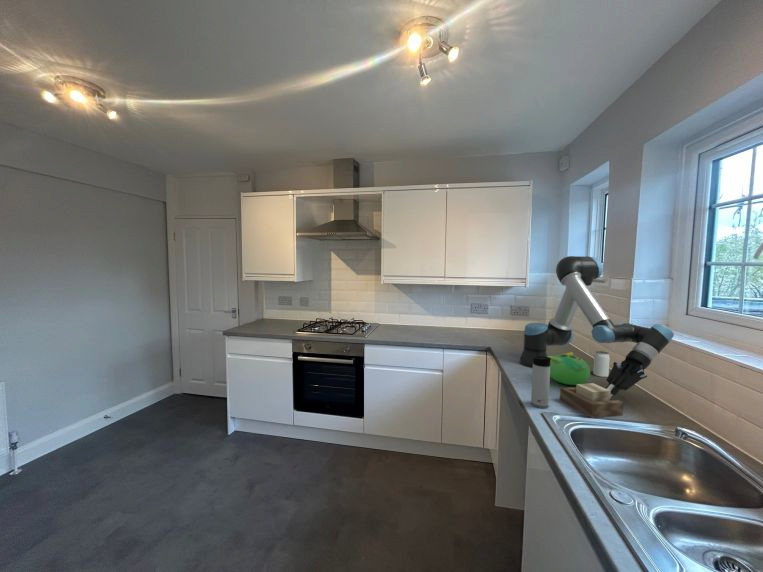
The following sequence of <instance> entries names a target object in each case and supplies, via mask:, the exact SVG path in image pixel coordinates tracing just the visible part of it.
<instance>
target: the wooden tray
mask: <svg viewBox="0 0 763 572" xmlns="http://www.w3.org/2000/svg"><path fill="white" fill-rule="evenodd" d="M559 400H560V401H561V402H563V403H565V404H567V405H568V406H570V407H572V408H573V409H575V410H577V411H579V412H580V413H583V414H585V415H586V416H587V417H590V418H591V419H593V418H594V419H596V418H608V417H618V416H623V414H624V402H623V401H621V400H619V399H616V400H610V401H601V402H591V401H590V400H588V399H586V398H584V397H582V396H580V395H578V394H576V386H572V387H571V386H570V387H560V390H559Z"/></svg>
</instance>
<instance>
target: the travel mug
mask: <svg viewBox="0 0 763 572" xmlns="http://www.w3.org/2000/svg"><path fill="white" fill-rule="evenodd" d="M550 360H551V358H549V357H543V356H537V357H533V367H532V373H531V374H532V377H531V393H530V394H531V396H530V404H531V405H532V406H533V407H534V408H539V409H547V408H549V400H550V383H551V382H550V380H551V376H550Z"/></svg>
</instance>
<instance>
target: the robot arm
mask: <svg viewBox="0 0 763 572" xmlns="http://www.w3.org/2000/svg"><path fill="white" fill-rule="evenodd" d="M603 269H604V267H603V265H602V262H601V261H600V260H599V259H598V258H597V257H594V256H587V255H586V256H581V255H580V256H574V255H573V256H572V255H569V256H565V257H563V258H562V259H560V260H559V261H558V263H557V264H556V267H555V273H556V274H555V275H556V277H557V279H558V281H559V283H560V285H562V286H565V290H564V292H563V294H562V296H561V300H560V302H559V304H558V307H557V310H556V312H555V314H554V317H553V318H551V319H549V321H548V324H547V323H545V322H529V323H527V324H525V327H524V331H523V335H524V338H523V351H522V353H521V355H520V358H519V364H521V365H523V366H526V367H529V368H533V357H537V356H543V357H547V356H548V353H547V349H548V348H547V347H549V346H565V345H568V344H570V343H571V342H572V340H573V339H574V330H573V326H572V325H571V323H572V321H573V318H574V316H575V314H576V311H577V310H578V308H579V309H580V311H582V314H583V315H584V316H585V318H586V319H587V321H588V322H589V324H590V325H591V327H592V330H591V336H592V339H593V340H594V341H595V342H597V343H601V344H612V343H634V344H635V343H636V344H635V345H634V347H633V348H632V349H631V350H630V351H629V352H628V353H627V354H626V356H625V359H624V360H622V361H621V362H615V361H614V362H613V364H612V365H613V366H612V368H611V369H610V371H609V375H608V377H606V381H607V383H608V385H607V386H606V387H604V388H605V389H608V390H610V391H611V395H610V399H611V398H612V397H613V396H615V395H616V394H617V393H618V392H619V391H620V390H621V391H622V390H623V391H627V390H628V389H631V387H633V386H634V385H636V384H637V383H638V382H639V381H641V380H642V379H647V378H648V375H647V374H646V373H645V372H644V370H646V369H647V368H648V367H649V366H650V365H651V363H652V362H653V361H654V360H655V359H656V358H657V356H658V355H659V354H660V352H661V351H663V349H665V348H666V346H667V345H668V344H670V341H671V340H672V339H673V338H674V335H675V334H674V332H673V330H672V329H671V328H670V327H668V326H667V325H664V324H661V323H656V324H653V325H652V326H651V327H648V326H647V327H644V326H640V325H636V324H633V323H629V322H628V323H627V322H618V324H614V323H613V321H612V320H611V318H610V317H609V316H608V314H607V313H606V311H605V310H604V309H603V307H602V306H601V304H600V303H599V302H598V300H597V299H596V298H595V295H594V294H593V293H592V291H591V290H590V288H588V287H590V286H592V285H593V284H592V283H593V282H594V280H597V279H599V278H601V276H602V274H603V271H604V270H603Z"/></svg>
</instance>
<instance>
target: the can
mask: <svg viewBox="0 0 763 572" xmlns="http://www.w3.org/2000/svg"><path fill="white" fill-rule="evenodd" d="M593 374H594V376H596V377H601V378H607V377H608V376H609V374H610V354H609V352H606V351H601V350H596V351H595V353H594V355H593Z"/></svg>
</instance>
